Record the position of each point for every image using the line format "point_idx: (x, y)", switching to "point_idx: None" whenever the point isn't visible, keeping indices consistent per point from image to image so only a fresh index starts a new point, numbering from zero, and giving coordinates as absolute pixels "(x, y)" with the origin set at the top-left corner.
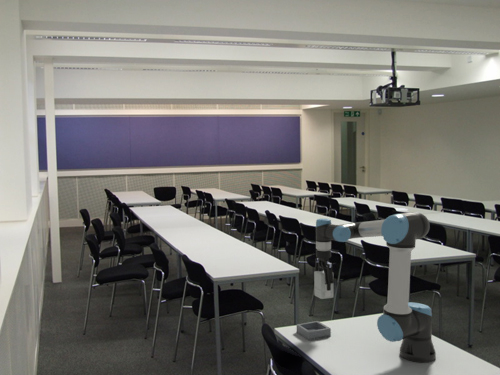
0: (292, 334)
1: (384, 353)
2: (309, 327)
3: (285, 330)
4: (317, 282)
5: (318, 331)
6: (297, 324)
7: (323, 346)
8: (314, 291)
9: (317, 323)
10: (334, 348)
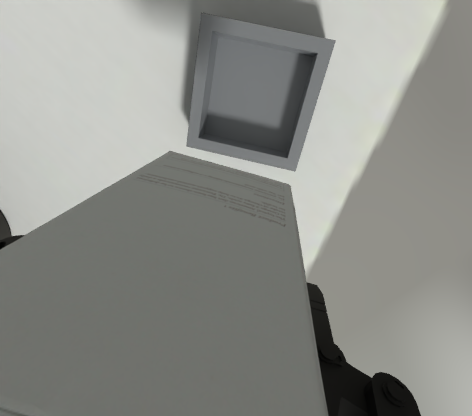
0: (321, 5)
1: (2, 167)
2: (297, 114)
3: (390, 11)
4: (184, 232)
5: (195, 78)
6: (332, 46)
7: (126, 32)
8: (289, 196)
9: (281, 155)
10: (91, 58)
